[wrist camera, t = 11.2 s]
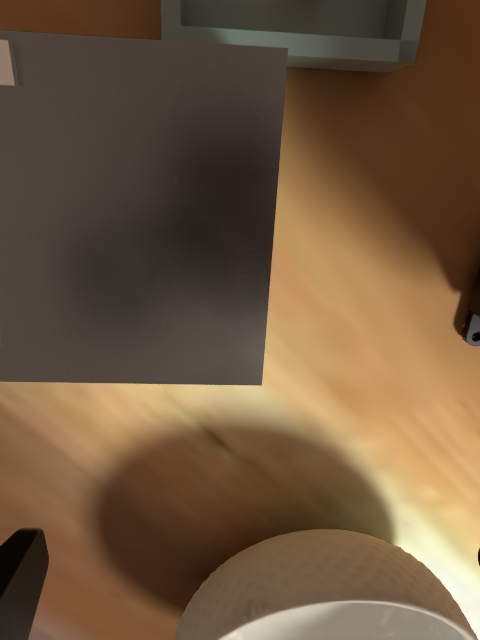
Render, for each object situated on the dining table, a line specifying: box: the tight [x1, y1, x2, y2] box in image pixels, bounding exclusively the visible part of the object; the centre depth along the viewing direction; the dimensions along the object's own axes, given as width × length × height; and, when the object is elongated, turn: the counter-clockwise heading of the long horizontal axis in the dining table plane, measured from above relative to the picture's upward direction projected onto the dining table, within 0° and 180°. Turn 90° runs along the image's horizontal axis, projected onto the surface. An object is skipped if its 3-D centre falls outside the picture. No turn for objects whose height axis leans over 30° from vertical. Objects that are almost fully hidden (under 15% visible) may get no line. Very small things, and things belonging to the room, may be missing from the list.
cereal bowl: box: [173, 529, 478, 640], centre depth 24 cm, size 17×17×7 cm
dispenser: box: [0, 30, 288, 385], centre depth 13 cm, size 16×8×8 cm, turn 87°
